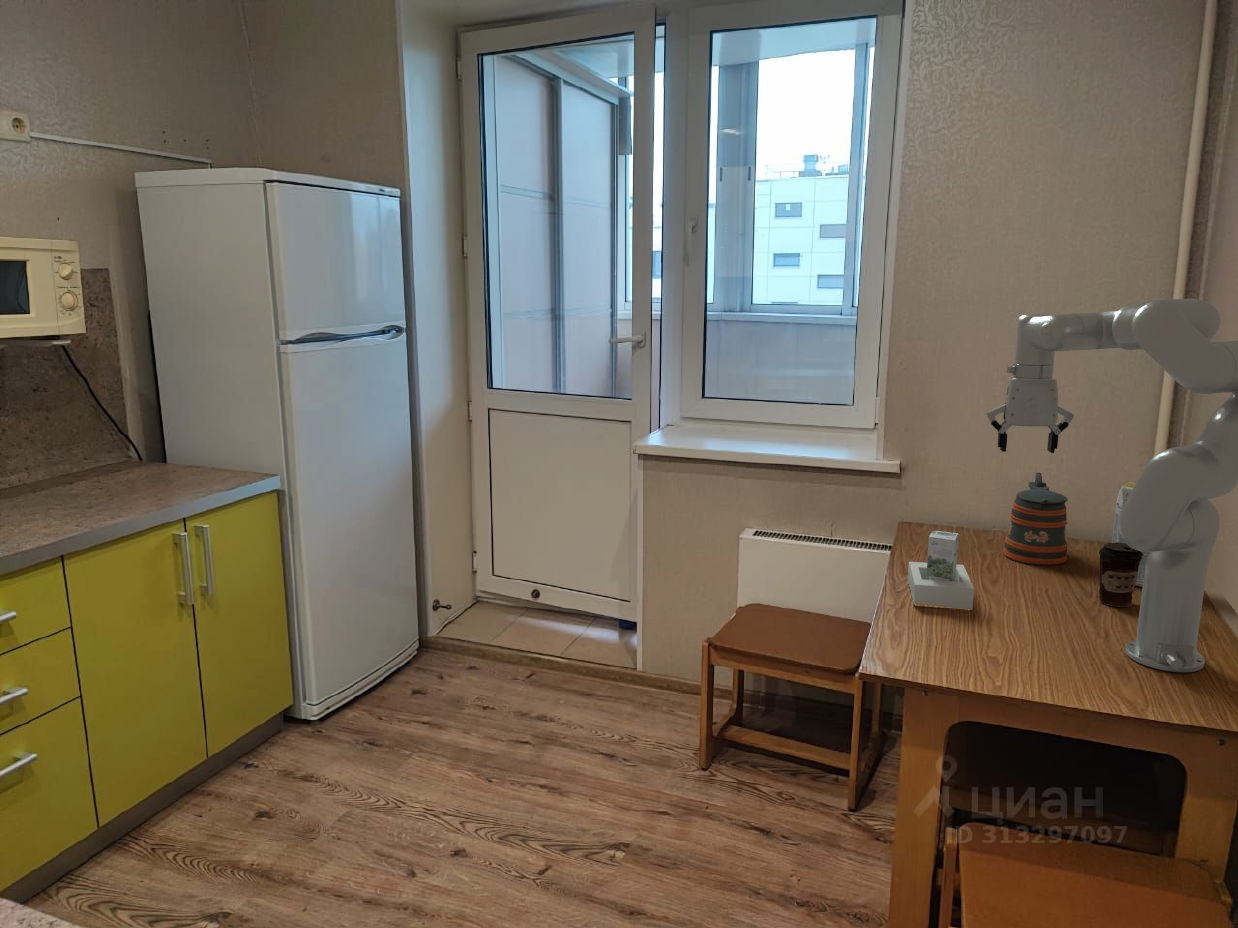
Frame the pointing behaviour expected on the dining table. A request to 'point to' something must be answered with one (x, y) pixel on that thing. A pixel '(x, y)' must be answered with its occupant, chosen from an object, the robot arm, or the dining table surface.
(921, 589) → the socket block
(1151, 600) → the robot arm
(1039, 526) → the beer stein
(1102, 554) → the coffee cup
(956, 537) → the syrup box
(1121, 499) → the juice carton
